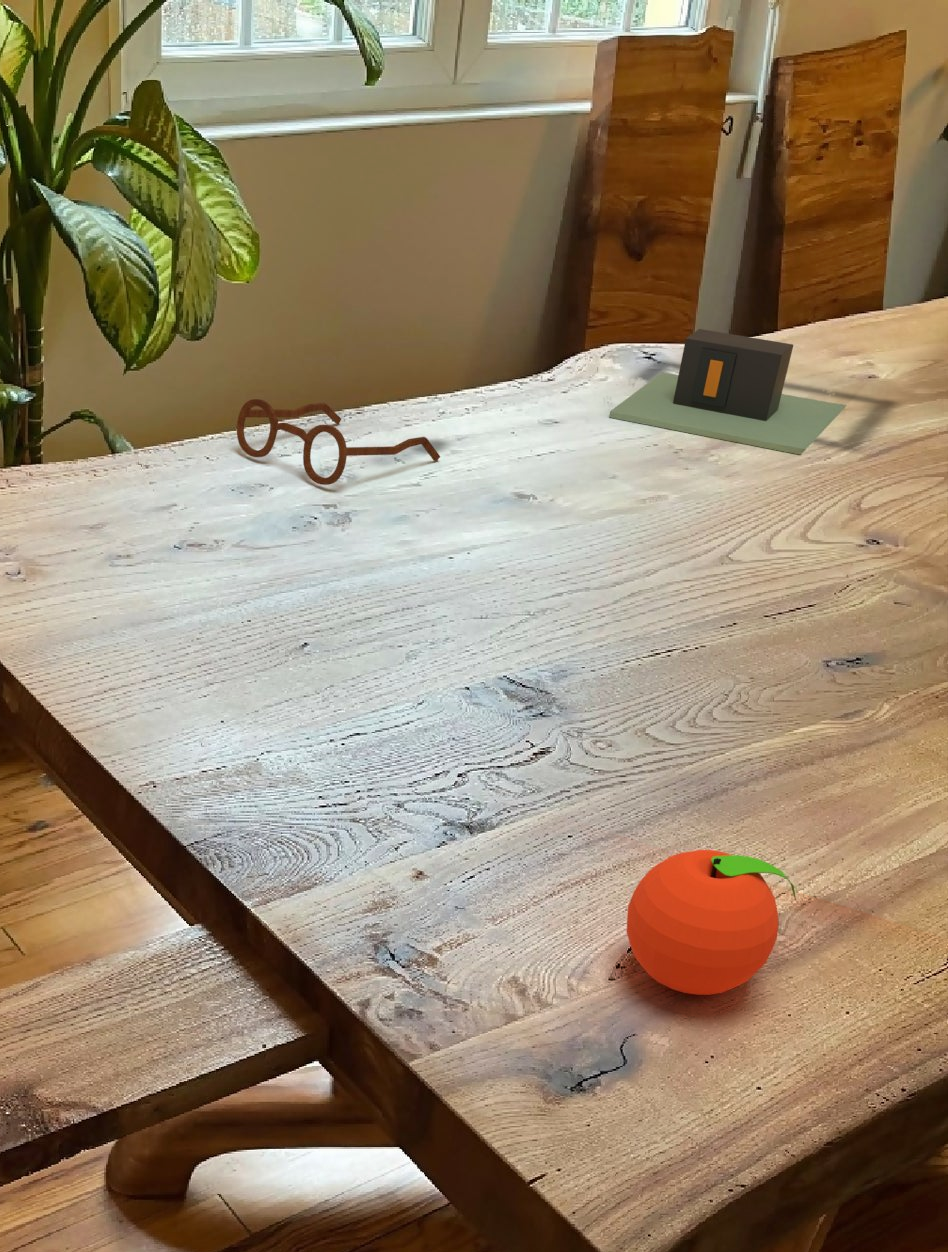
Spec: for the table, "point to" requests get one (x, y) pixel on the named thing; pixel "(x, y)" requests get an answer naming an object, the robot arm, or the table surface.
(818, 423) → the mat
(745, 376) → the clock
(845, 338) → the table surface
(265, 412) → the glasses
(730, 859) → the clementine
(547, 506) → the table surface
